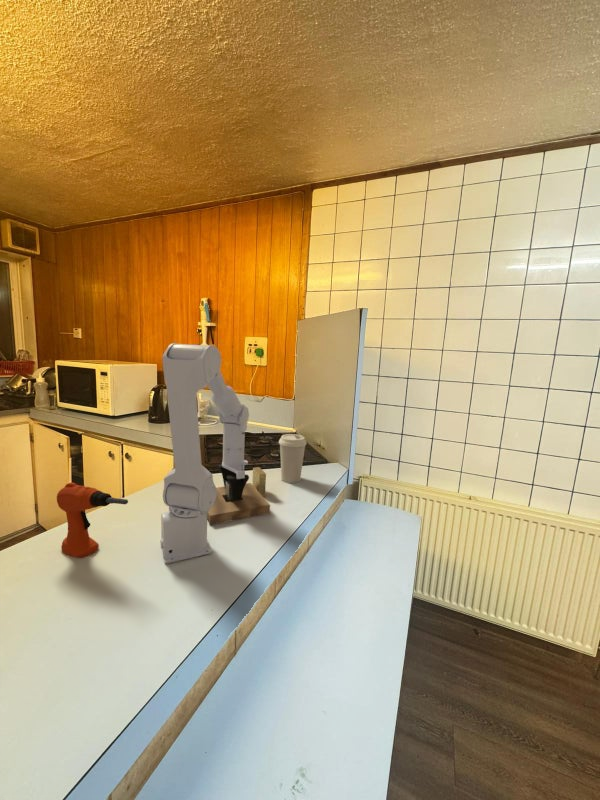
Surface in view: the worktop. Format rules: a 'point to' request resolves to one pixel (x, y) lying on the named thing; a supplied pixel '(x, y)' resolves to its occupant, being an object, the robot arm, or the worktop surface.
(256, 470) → the block
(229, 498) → the square bit
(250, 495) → the plate
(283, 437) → the coffee cup
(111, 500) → the toy drill
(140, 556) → the worktop surface
